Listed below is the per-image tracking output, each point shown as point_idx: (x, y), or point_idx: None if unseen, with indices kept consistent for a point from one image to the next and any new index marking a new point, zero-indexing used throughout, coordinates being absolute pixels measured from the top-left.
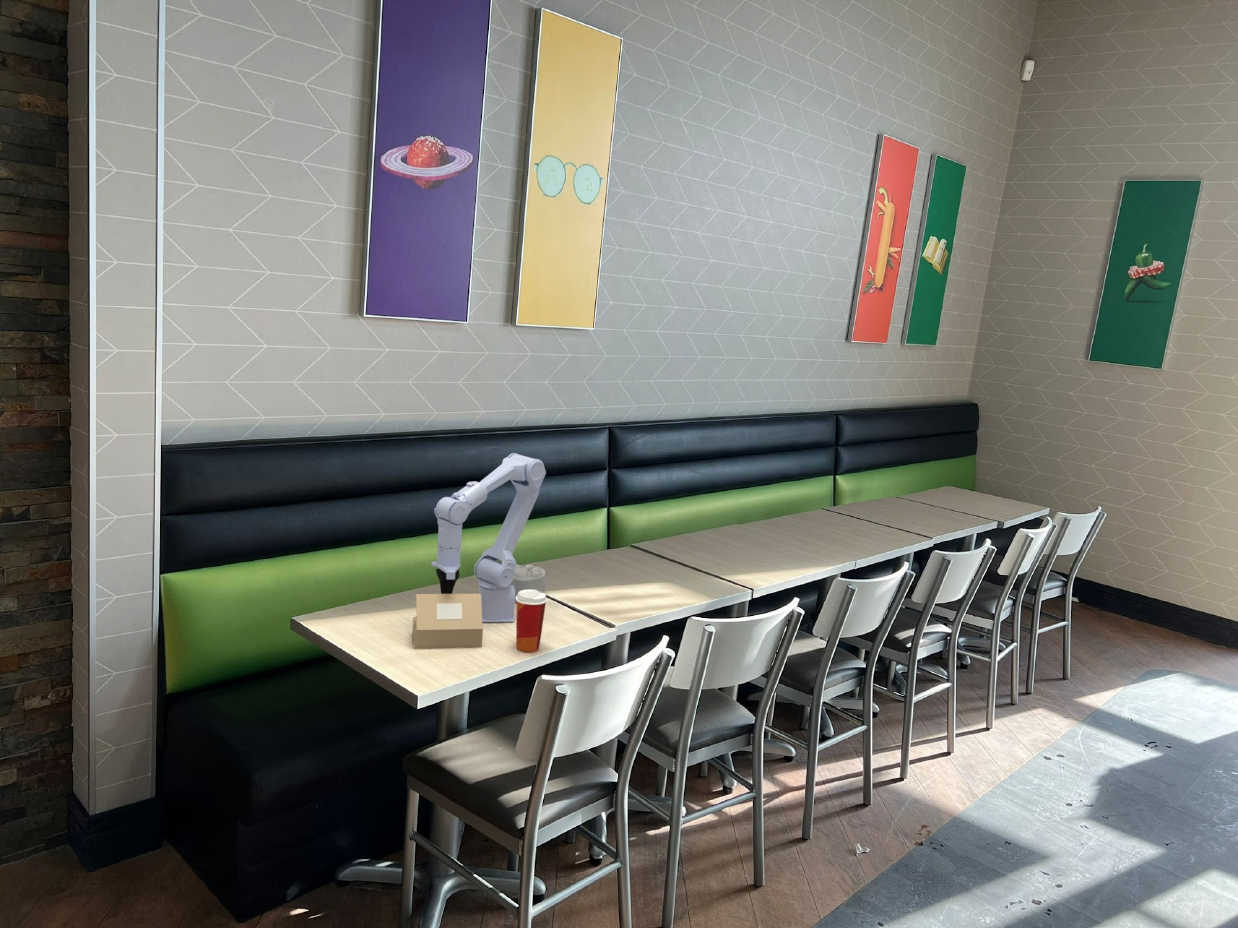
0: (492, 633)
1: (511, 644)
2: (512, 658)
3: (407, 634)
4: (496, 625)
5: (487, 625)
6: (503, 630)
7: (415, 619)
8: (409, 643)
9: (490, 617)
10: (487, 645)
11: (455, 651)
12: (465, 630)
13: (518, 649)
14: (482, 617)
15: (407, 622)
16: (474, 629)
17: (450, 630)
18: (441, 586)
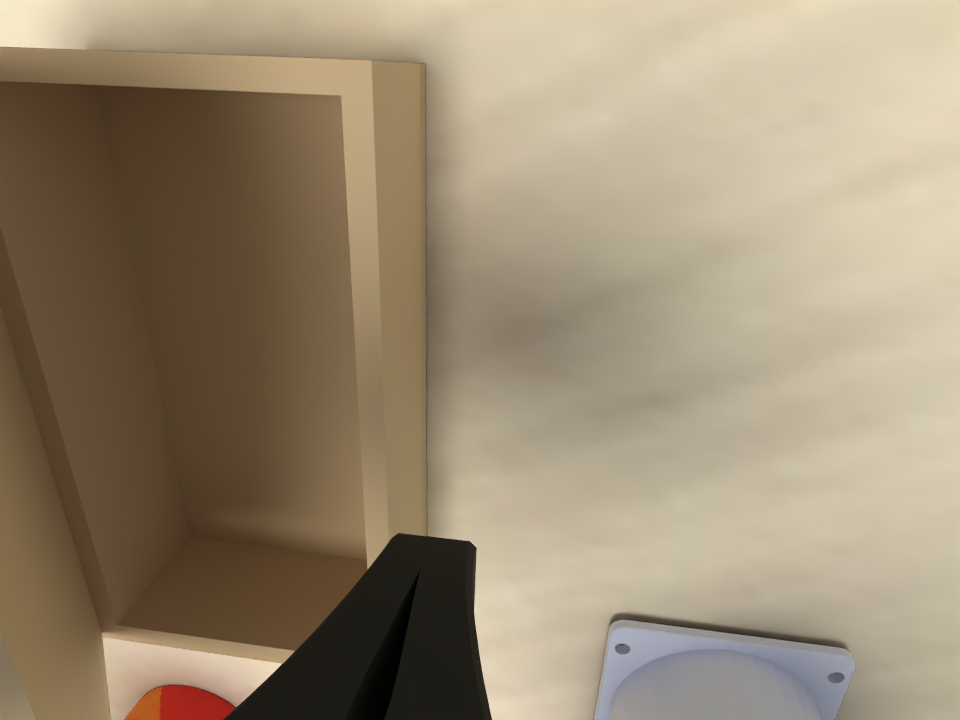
0: None
1: (241, 680)
2: None
3: (415, 8)
4: (548, 693)
5: (556, 651)
6: None
7: (271, 82)
8: (190, 9)
9: (615, 711)
10: None
11: None
12: (73, 521)
13: (159, 689)
14: (653, 668)
15: (762, 39)
16: (86, 585)
17: (38, 409)
18: (251, 698)
